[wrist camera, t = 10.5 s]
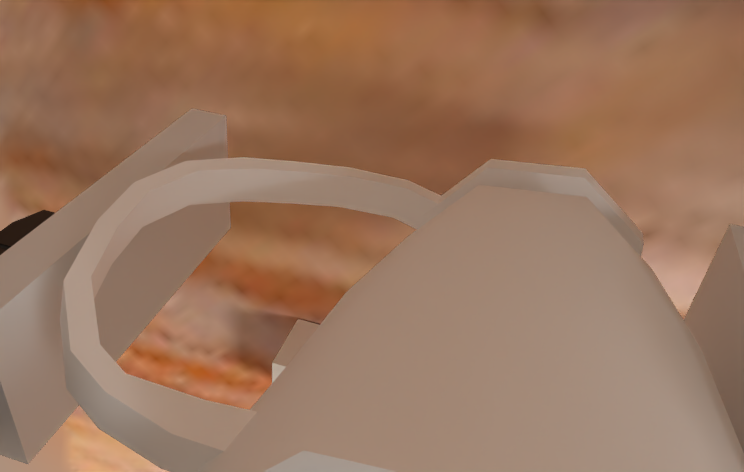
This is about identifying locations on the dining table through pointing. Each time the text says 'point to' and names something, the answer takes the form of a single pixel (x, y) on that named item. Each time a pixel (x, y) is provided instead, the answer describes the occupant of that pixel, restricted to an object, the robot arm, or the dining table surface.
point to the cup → (430, 337)
